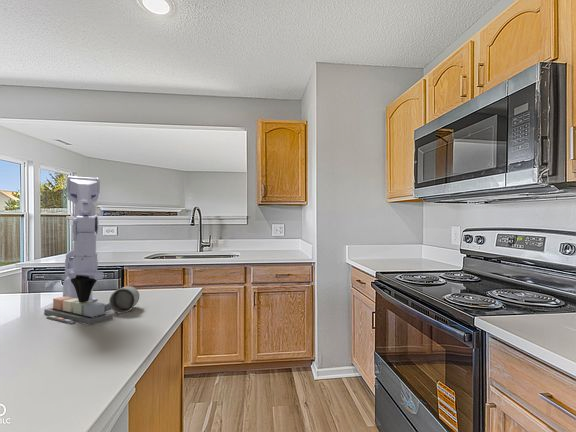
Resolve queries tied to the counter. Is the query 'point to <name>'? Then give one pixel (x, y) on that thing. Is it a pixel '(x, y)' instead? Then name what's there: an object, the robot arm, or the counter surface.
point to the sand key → (69, 304)
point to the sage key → (80, 307)
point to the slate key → (94, 309)
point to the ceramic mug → (123, 299)
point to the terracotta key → (60, 302)
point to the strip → (61, 319)
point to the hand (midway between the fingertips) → (83, 301)
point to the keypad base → (78, 316)
